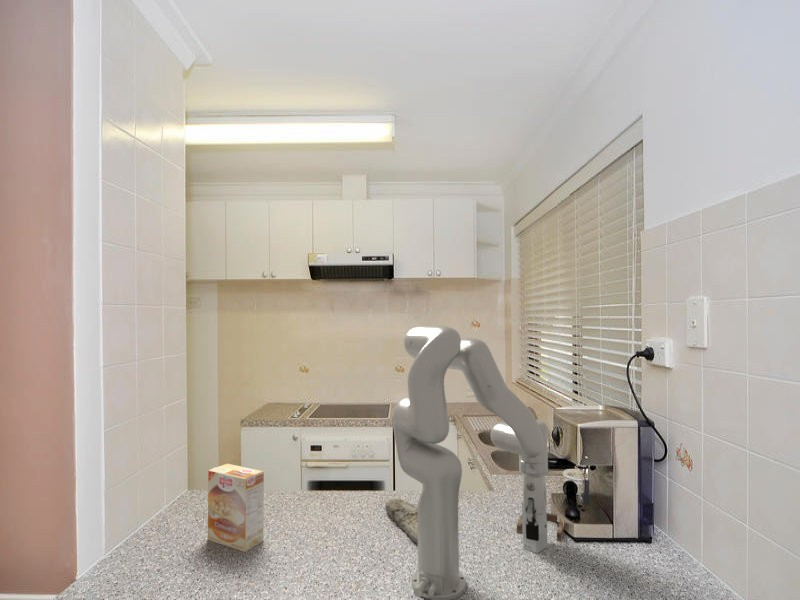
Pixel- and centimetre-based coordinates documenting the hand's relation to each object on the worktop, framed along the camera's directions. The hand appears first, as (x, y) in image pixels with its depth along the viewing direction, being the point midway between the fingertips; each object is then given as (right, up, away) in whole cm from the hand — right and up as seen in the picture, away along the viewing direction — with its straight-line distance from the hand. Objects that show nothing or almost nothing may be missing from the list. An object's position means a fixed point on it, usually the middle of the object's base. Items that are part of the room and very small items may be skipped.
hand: (534, 532), depth 119 cm
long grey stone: (-32, -5, +10) cm, 34 cm away
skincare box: (0, -4, 0) cm, 4 cm away
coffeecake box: (-83, -5, +4) cm, 83 cm away
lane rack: (+5, -4, +11) cm, 13 cm away
